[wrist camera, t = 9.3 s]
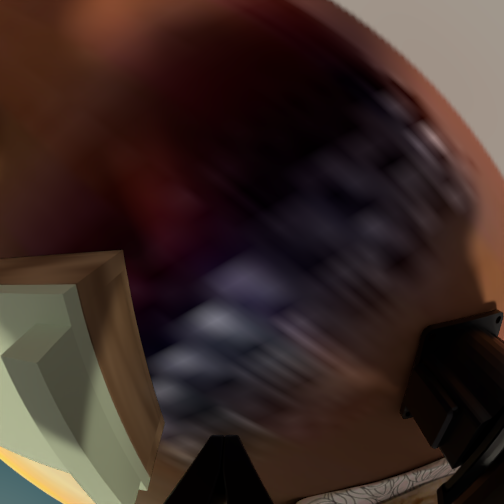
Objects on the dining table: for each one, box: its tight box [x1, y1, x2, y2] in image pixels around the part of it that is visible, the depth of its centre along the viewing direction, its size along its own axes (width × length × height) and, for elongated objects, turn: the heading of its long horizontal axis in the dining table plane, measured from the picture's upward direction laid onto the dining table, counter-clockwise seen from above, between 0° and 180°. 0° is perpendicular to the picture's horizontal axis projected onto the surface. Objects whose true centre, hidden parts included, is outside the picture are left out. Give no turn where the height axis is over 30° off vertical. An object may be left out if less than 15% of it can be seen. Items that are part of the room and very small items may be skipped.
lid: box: [0, 284, 150, 504], centre depth 8 cm, size 11×10×3 cm
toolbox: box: [0, 250, 165, 477], centre depth 11 cm, size 17×10×4 cm, turn 93°
